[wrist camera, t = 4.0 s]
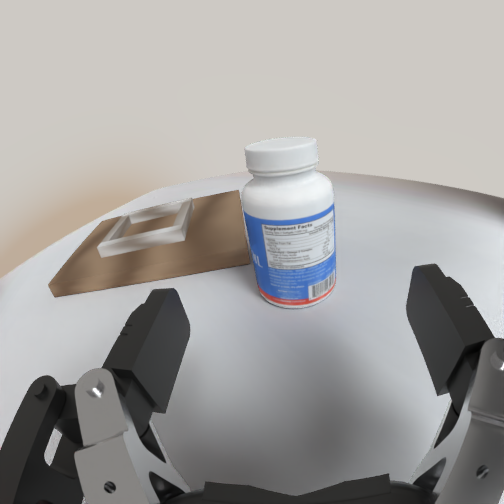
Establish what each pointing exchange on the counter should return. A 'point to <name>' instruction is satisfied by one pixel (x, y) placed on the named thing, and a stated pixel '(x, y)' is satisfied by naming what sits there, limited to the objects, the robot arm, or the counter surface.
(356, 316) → the counter surface
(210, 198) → the walnut board
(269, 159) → the pill bottle
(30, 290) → the counter surface
